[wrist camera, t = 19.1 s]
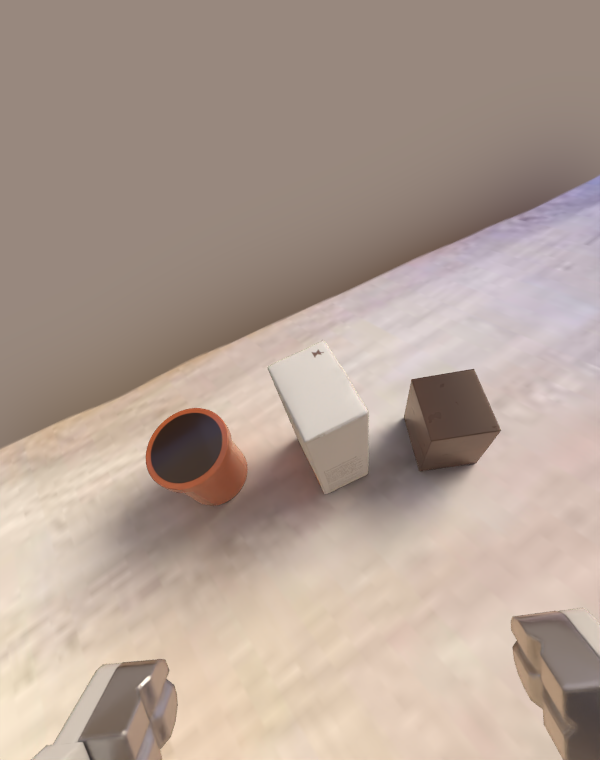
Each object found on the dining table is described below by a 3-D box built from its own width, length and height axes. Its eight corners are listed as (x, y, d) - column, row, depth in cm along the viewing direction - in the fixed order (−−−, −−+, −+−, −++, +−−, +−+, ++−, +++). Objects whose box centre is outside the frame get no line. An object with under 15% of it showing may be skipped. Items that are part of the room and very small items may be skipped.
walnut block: (419, 471, 30) (431, 441, 24) (403, 417, 32) (411, 379, 27) (476, 463, 29) (501, 430, 24) (455, 408, 32) (474, 368, 27)
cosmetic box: (295, 437, 33) (264, 363, 23) (337, 417, 33) (324, 336, 23) (324, 498, 30) (303, 444, 20) (370, 475, 30) (372, 410, 20)
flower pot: (180, 515, 31) (139, 495, 25) (185, 445, 34) (150, 414, 29) (253, 504, 30) (228, 482, 25) (250, 434, 34) (228, 401, 28)
